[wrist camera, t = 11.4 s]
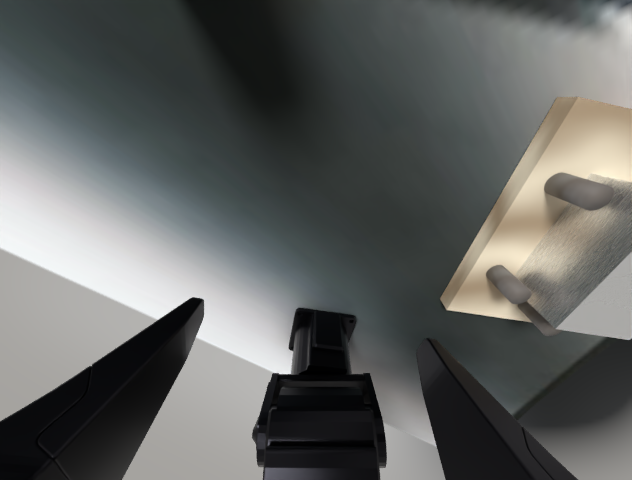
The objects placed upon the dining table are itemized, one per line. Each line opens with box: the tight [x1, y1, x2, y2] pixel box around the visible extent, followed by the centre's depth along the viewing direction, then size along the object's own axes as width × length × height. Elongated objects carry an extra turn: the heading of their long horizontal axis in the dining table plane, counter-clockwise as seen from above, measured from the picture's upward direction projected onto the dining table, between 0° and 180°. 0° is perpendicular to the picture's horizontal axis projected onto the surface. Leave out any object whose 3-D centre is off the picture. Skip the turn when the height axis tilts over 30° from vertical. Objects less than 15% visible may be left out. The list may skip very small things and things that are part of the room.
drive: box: [515, 174, 632, 340], centre depth 17 cm, size 10×6×5 cm, turn 170°
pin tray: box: [440, 97, 632, 336], centre depth 19 cm, size 18×14×4 cm
